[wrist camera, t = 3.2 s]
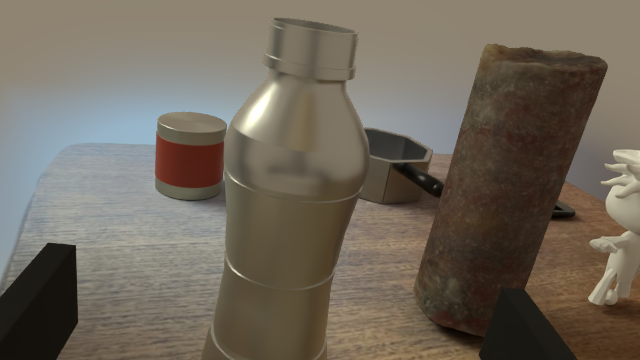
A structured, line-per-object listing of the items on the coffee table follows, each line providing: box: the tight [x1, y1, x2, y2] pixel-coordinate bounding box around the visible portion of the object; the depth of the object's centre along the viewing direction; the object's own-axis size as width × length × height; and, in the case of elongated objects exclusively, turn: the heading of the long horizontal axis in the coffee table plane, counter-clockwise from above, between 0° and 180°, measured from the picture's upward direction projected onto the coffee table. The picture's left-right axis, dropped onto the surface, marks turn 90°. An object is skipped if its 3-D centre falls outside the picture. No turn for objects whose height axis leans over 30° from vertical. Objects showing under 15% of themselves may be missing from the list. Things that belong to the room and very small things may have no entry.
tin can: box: [155, 112, 227, 200], centre depth 51 cm, size 7×7×7 cm
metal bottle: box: [201, 17, 370, 360], centre depth 24 cm, size 6×7×20 cm
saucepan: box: [358, 128, 444, 204], centre depth 58 cm, size 18×12×5 cm, turn 26°
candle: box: [414, 44, 608, 337], centre depth 34 cm, size 8×7×20 cm
